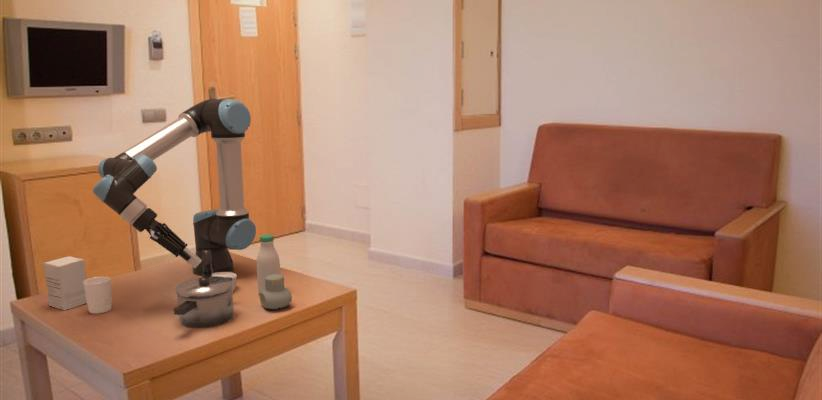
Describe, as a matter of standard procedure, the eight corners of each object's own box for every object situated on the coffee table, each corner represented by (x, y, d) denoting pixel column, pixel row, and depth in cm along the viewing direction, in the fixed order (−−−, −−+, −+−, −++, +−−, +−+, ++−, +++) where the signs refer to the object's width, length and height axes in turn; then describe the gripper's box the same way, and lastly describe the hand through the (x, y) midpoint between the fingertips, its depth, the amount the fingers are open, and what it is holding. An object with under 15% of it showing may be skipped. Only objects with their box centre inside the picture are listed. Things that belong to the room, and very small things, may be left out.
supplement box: (74, 298, 222) (69, 255, 219) (90, 302, 217) (85, 258, 214) (48, 306, 214) (42, 262, 211) (64, 311, 210) (58, 266, 207)
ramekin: (236, 284, 233) (235, 270, 232) (239, 293, 223) (238, 278, 222) (203, 288, 230) (202, 273, 229) (205, 298, 219) (203, 283, 218)
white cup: (103, 315, 205) (99, 284, 203) (81, 313, 207) (77, 283, 205) (119, 306, 213) (115, 276, 211) (97, 305, 214) (94, 275, 212)
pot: (206, 338, 185) (204, 308, 183) (155, 335, 188) (152, 305, 187) (252, 302, 213) (250, 276, 212) (207, 300, 217) (205, 274, 215)
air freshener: (294, 309, 207) (292, 278, 205) (268, 314, 203) (266, 283, 201) (283, 299, 217) (281, 270, 215) (258, 303, 213) (256, 274, 211)
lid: (231, 295, 193) (229, 267, 191) (172, 300, 189) (169, 272, 188) (234, 271, 216) (233, 247, 214) (182, 276, 212) (179, 251, 211)
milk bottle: (283, 294, 221) (280, 237, 217) (260, 297, 218) (256, 239, 215) (279, 287, 228) (275, 232, 224) (256, 290, 225) (253, 234, 222)
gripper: (137, 219, 211) (194, 266, 217) (125, 229, 198) (186, 279, 203) (153, 202, 211) (209, 250, 217) (142, 211, 197) (202, 262, 203)
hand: (198, 264), depth 210 cm, fingers closed
